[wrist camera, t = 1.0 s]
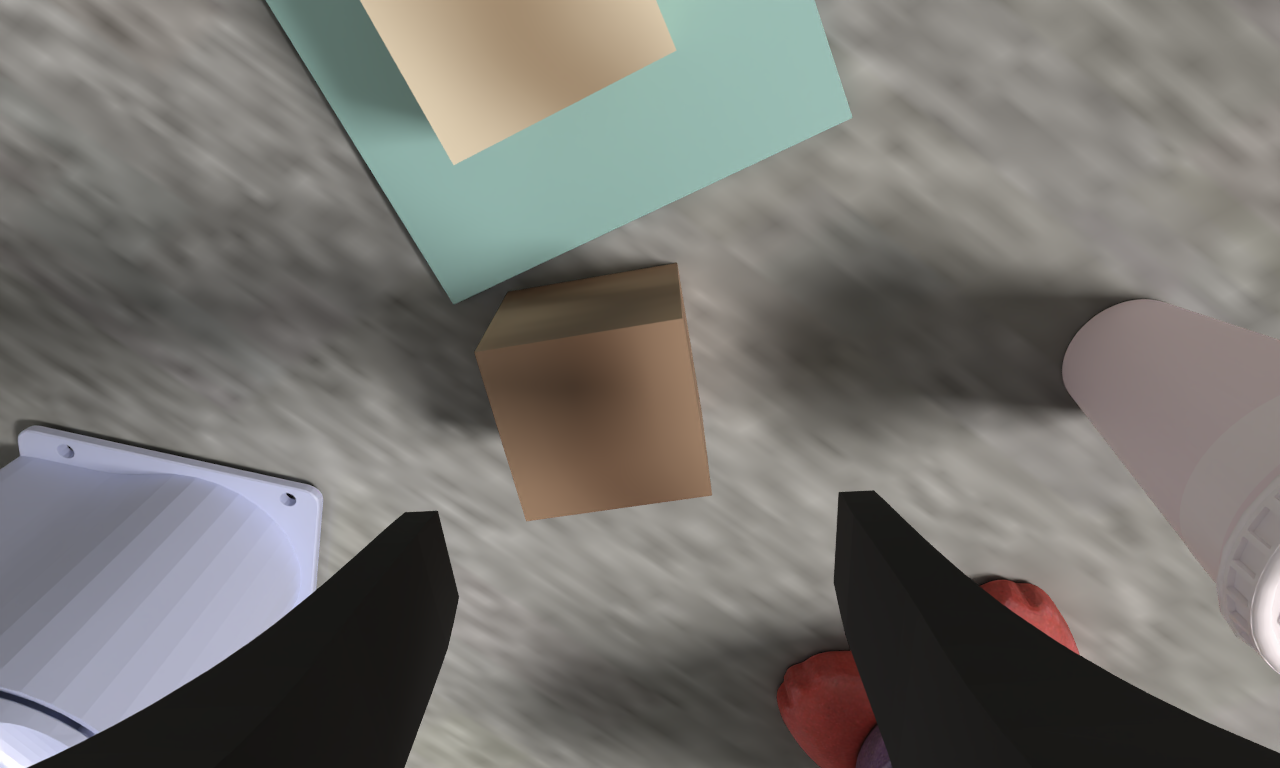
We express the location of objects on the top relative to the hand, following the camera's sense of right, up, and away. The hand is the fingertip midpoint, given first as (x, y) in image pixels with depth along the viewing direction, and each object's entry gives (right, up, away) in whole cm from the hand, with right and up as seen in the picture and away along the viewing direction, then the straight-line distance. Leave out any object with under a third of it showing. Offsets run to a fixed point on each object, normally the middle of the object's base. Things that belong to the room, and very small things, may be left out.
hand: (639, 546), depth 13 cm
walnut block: (-1, +4, +9) cm, 10 cm away
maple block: (-3, +12, +4) cm, 13 cm away
